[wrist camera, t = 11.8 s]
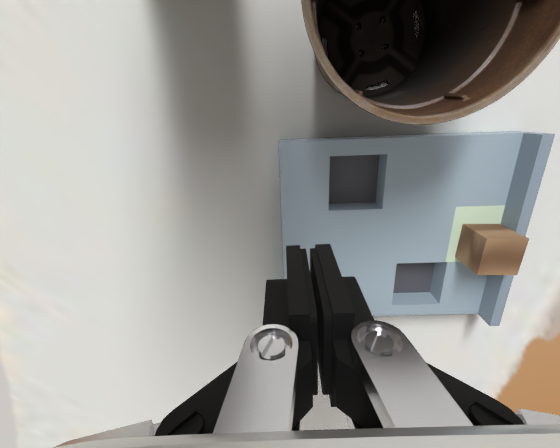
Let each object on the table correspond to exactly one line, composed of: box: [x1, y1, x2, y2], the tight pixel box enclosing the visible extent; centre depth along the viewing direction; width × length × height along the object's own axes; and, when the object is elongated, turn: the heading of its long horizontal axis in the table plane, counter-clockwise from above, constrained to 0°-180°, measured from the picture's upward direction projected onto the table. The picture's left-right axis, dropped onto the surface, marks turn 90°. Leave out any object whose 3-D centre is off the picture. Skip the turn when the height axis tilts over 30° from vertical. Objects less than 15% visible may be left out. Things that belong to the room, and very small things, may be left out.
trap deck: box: [278, 131, 555, 326], centre depth 36 cm, size 24×28×6 cm
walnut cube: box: [455, 224, 529, 275], centre depth 34 cm, size 4×4×4 cm
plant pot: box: [301, 0, 560, 125], centre depth 24 cm, size 16×16×16 cm
